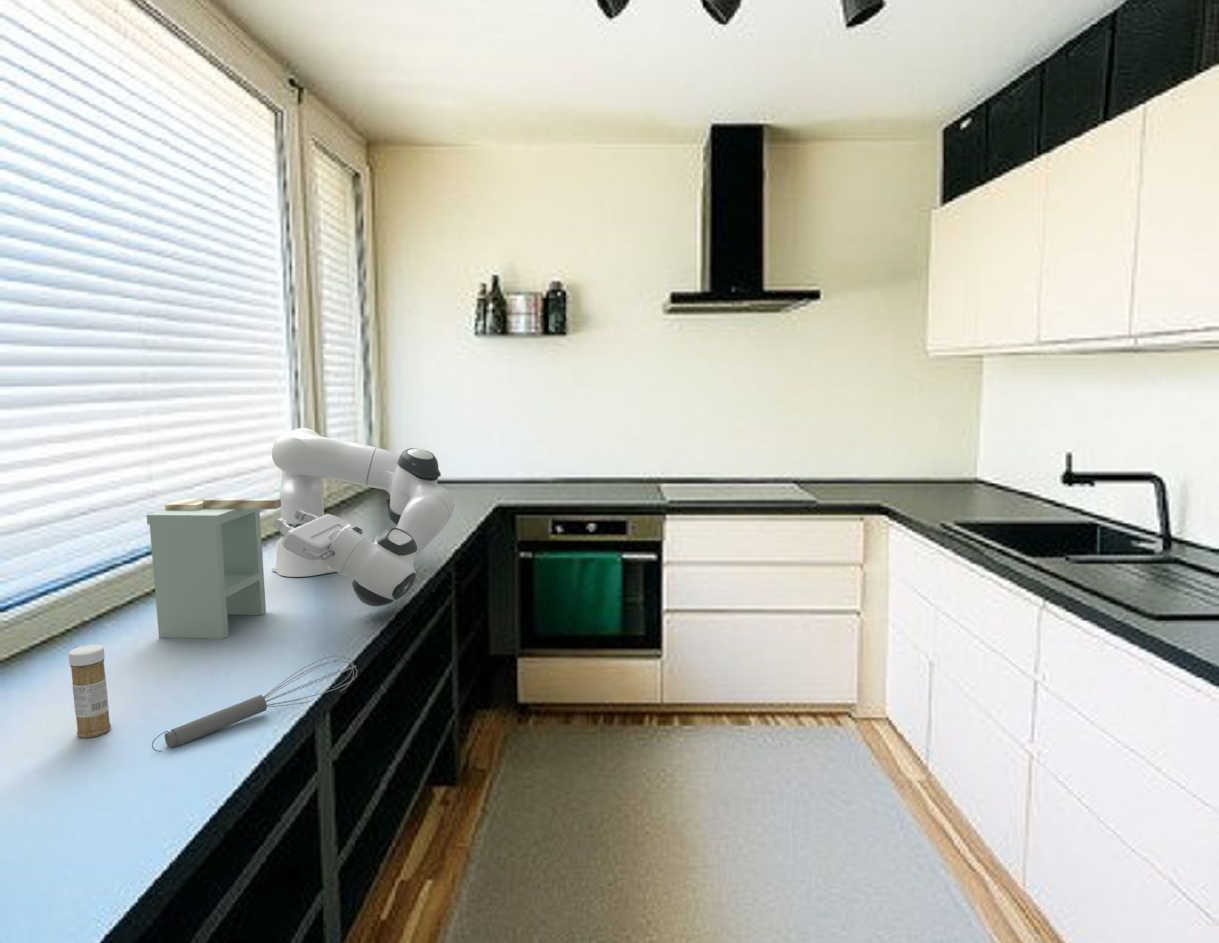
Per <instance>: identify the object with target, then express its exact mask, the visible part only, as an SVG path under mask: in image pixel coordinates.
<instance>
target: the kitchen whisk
mask: <svg viewBox="0 0 1219 943" xmlns="http://www.w3.org/2000/svg"><path fill="white" fill-rule="evenodd" d="M332 657H338V655H337V654H336V655H330V656H326V657H324V658H320V659H318V660H316V661H314V662H312V663H310V664H308V665H305V666H304V667H302V668H301V669H299V670H298V671H296V672H295V673H293V674H291V675H290V676H288V677H287V678H286V679H285V680H283V681H282V682H279V683H278V684H277V685H276V686H275V687H274V688H272V689H271V690H270V691H268V692H267V693H266V694H265V695H262V694H259V695H256V696H254V697H252V698H248V699H247V700H244V701H241V702H238V703H235V704H233V705H231V706H229V707H226V708H224V709H220V710H218V711H215V712H213V713H210V714H208V715H206V716H203V717H200V718H197V719H195V720H193V721H191V722H188V723H185V724H183V725H180V726H178V727H175V728H172V729H170V731H168V730H166V731H163V732H161V733H160V734H159V735H158V736H156V737H155V738H154V739H153V741H152V743H151V747H152V749H153V750H154V751H155V752H159V753H160V752H162V750H158V749H156V748H155V747H154V742H155V740H157V739H158V738H159V737H160V736H161V735H163V734H164V741H165V743H166V746H167V747H168V748H169V749H172V748H174V747H179V746H183V745H185V744H187V743H189V742H192V741H195V740H197V739H199V738H202V737H204V736H207V735H210V734H211V733H214V732H217V731H219V730H221V729H225V728H227V727H229V726H231V725H233V724H236V723H239V722H241V721H244V720H246V719H249V718H251V717H253V716H254V717H255V716H257V715H258V714H261V713H264V712H265V711H267V708H273V707H274V708H275V707H283V706H285V707H287V706H292V705H300V704H306V703H309V702H312V701H314V699H313V700H312V699H311V700H308V701H304V702H303V701H301V702H296V703H291V702H295V701H299V700H304V699H307V698H310V697H311V698H312V697H315V696H318V695H322V694H326V693H329V692H333V691H335V690H337V689H340V688H342V687H344V686H345V687H344V688H342V689H340V690H339V692H343V690H346V689H347V688H348V686H350V684H351V683H352V681H353V680H355V678H357V676H358V669H357V668H356V667H357V665H354V660H352V659H351V658H350V657H345V655H339V657H342V658H338V659H335V660H331V661H328V662H324V663H320V664H319V665H315V666H313V667H310V668H309V669H307V670H305V671H302V670H304V669H306V668H308V667H309V666H312V665H313V664H316V663H317V662H320V661H322V660H325V659H328V658H332ZM344 660H345V661H344ZM346 660H348V661H346ZM338 661H339V662H344V663H348V664H349V665H351V666H350V667H347V668H344V669H341V670H339V671H336V672H334V673H330V674H328V675H325V676H323V677H321V678H318V679H315V680H313V681H311V682H308V683H306V684H303V685H300V686H298V687H296V688H293V689H291V690H288V691H286V692H283V693H281V694H279V695H276V696H275V697H272V698H269V697H270V696H272V695H273V694H275V693H276V692H278V691H280V690H281V689H283V688H285V687H286V686H288V685H290V684H291V683H293V682H295V681H296V680H299V679H301V678H302V677H303V676H306V675H307V674H309V673H311V672H313V671H315V670H317V669H319V668H321V667H323V666H325V665H328V664H331V663H336V662H338ZM354 669H355V671H356V673H355V671H354ZM349 670H350V673H349V674H348V675H347V676H346V678H345V679H344V680H342V681H341V682H340V683H338V684H336V685H334V686H332V687H331V689H330V690H327V691H324V692H320V693H317V694H314V695H309V696H305V697H301V698H295V699H291V700H286V701H281V702H275V703H269V702H270V701H273V700H276V699H278V698H280V697H283V696H286V695H288V694H291V693H293V692H297V691H299V690H302V689H304V688H306V687H309V686H312V685H314V684H317V683H319V682H322V681H324V680H327V679H328V678H329V679H330V678H332V677H334V676H337V675H338V674H339V675H340V674H341V673H345V672H346V671H349ZM301 671H302V672H301ZM299 672H301V673H299ZM297 673H299V674H297ZM354 673H355V674H354ZM296 674H297V675H296ZM351 674H352V678H351V680H350V681H348V682H347V683H344V684H343V685H341V684H342V683H343V682H345V681H346V680H347V679H348V678H349V677H350V675H351ZM293 676H294V677H293ZM354 676H355V677H354ZM291 677H292V678H291ZM288 679H289V680H288ZM285 681H286V682H285ZM333 688H334V689H333ZM267 698H269V699H267ZM266 699H267V700H266ZM267 702H268V703H269V704H267ZM285 703H286V704H285ZM287 703H288V704H287ZM289 703H290V704H289Z"/></svg>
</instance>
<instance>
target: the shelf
mask: <svg viewBox="0 0 1219 943" xmlns="http://www.w3.org/2000/svg"><path fill="white" fill-rule="evenodd" d="M261 510H263V509H208V508H203V509H200V510H165V509H163V510H158V511H155V512H152V513H149V514H146V524H147V525H149V531H150V532H149V533H150V544H151V555H152V556H151V558H152V569H153V571H152V572H153V581H154V593H155V594H154V595H155V605H156V607H155V608H156V617H157V628H158V629H157V632H158V638H169V639H170V638H171V639H173V638H175V639H218V640H219V639H221V640H222V639H226V637H227V638H228V637H229V635H230V634H229V623H228V622H229V621H228V620H229V619H228V616H229V615H232V616H233V615H234V616H235V615H239V616H240V615H242V616H243V615H244V616H252V615H253V616H262V615H264V614H266V613H267V605H266V604H267V603H266V592H265V591H266V589H265V574H264V559H263V544H262V527H261V515H260V514H261V513H260V511H261Z"/></svg>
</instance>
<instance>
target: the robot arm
mask: <svg viewBox="0 0 1219 943" xmlns="http://www.w3.org/2000/svg"><path fill="white" fill-rule="evenodd" d="M271 457H272V461H273V463H274V465H275V466H276V467H277V468H278V469H279V470H281V481H280V483H281V484H280V489H279V499H281V507H280V517H278V518H276V519H274V521H273V523H272V527H273V528H276V529H277V530H279V535H280V536H281V537H280V538H279V539H278V540H277V541H276V551H275V552H276V557H275V559H276V560H275V565H274V566H272V567H271V568H272V569H271V571H272V572H274V573H277V574H278V576H282V577H287V578H288V577H290V578H292V577H293V578H300V577H301V578H303V577H313V576H319V575H324V574H330V573H339V574H341V575H342V576H344V577H348V578H351V579H353V580H352V588H353V592H354V593H355V595H356V596H357V598H358V599H359V601H360V602H362V603H363V604H364V605H368V606H370V607H381V606H386V605H389V604H392V603H393V602H394V601H397V600H399V599H401V598H402V597H404V596H406V594H407V593H408V592H409V590H410V589H411V588H412V586H413V585H414V583H415V581H416V579H417V578H416V577H417V572H416V569H414V564H415V560H416V558H417V557H418V556H419V555H420V554H421V553H422V552H423V551H424V550H425V548H427V546H428V545H429V544H430V543H431V542H433V541H434V539H435V538H436V537H437V536H439V534H440V533H441V532H442V531H443V530H444V529H445V528H446V526H447V525H448V523H449V522H450V521H451V518H452V516H453V512H454V509H455V498H454V497H453V495H452V493H451V491H450V490H448V489H446V488H445V487H443V486H441V485H439V484H438V479H439V477H441V476H442V474H441V471H440V469H439V462H438V460H437V457H436V456H435V454H434V453H433V452H431V451H429V450H425V449H423V448H419V447H417V448H416V447H410V448H407V449H404V450H403V451H402V452H401V453H400V454H398V453H396V452H393V451H390V450H388V449H383V448H380V447H376V446H372V445H368V444H362V443H359V442H355V441H350V440H346V439H345V440H344V439H337V438H331V437H325V436H321V435H320V434H319V433H317V432H316V431H315V430H313V429H310V428H308V427H300V428H295V429H293V430H290V431H288V432H285V433H283V434H281V435H280V436H279V437H278V438H277V439H276V440H275V442H274V443H273V446H272V449H271ZM324 479H329V480H335V481H341V482H345V483H351V484H355V485H358V486H363V487H368V488H371V489H372V488H374V489H378V490H384V491H386V492H387V493H388V494H389V496H390V498H388V499H386V500H385V504H386V506H387V513H388V514H387V515H388V518H389V520H391V523H393V524H394V525H396V527H391V528H386V529H382V530H381V531H380V532H379V533H378V534H377V535H376V536H375V539H374V541H373V542H370V541H369V540H367V539H366V538H365V537H364V533H365V530H364V528H361V527H360V526H358V525H356V526H354V525H352V524H351V523H350V522H348V521H346V520H344V519H343V518H340V517H338V516H336V515H334V514H330V513H325V506H324Z"/></svg>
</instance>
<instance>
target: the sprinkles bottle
mask: <svg viewBox="0 0 1219 943" xmlns="http://www.w3.org/2000/svg"><path fill="white" fill-rule="evenodd" d="M105 656H106V655H105V648H104V646H103V645H99V644H90V645H81V646H79V647H76V648H73V649H71V650H70V651H69V652H68V664H69V665H70V666H69V667H70V668H71V670H70V671H71V679H72V683H71V684H72V685H71V686H72V693H73V703H74V714H75V718H76V719H75V720H76V728H77V731H76V735H77V736H78V737H79V738H84V739H85V738H93V737H99V736H102V735H103V734H105V733H107V732H109V731H110V730H111V728H112V725H111V723H110V722H111V721H110V713H109V712H110V711H109V697H108V686H107V678H106V669H105Z"/></svg>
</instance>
